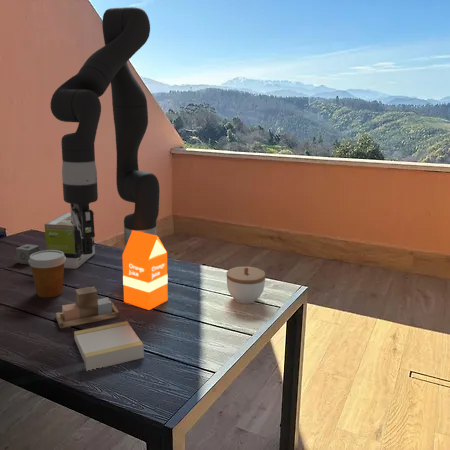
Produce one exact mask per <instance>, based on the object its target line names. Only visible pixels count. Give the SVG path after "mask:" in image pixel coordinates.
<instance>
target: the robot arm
mask: <svg viewBox="0 0 450 450" xmlns="http://www.w3.org/2000/svg"><path fill="white" fill-rule="evenodd" d="M101 24H102V34H103V41H104V46H102V47H100V48H99V49H98V50H96V51H95V52H93V53H92V54H91V55H90V56H89V57H88V58H87V59H86V61H84V63H83V65H82V66H81V68H80V69H79V70H78V72H77V73H76V74H75V75H73V76H71V77H70V78H69V79H67V80H65V82H64V83H62V84H61V85H60V86H59V87H57V89H56V90H55V91H54V93H53V94H52V96H51V99H50V111H51V113H52V115H53V117H54V118H56V119H57V120H58V121H61V122H65V123H78V125H77V129H76V130H75V132H72V133H71V132H70V133H66V134H64V135H63V136H62V138H61V140H60V141H61V155H62V156H61V159H62V160H61V161H62V165H61V179H62V195H63V201H64V202H65V203H67V204H70V213H71V223H72V224H73V225H72V226H73V229H74V237H75V243H76V244H82V253H83V254H84V255H87V254H92V252H93V250H92V238H93V237H94V238H95V236H96V233H95V221H94V220H95V219H94V218H95V217H94V215H95V213H94V211H93V210H92V209H90V206H89V205H90V204H92V203H95V202H96V201H98V197H99V196H98V195H99V192H98V191H99V190H98V175H97V174H98V170H97V163H96V155H95V154H96V153H95V143H96V136H97V131H98V127H99V122H100V119H101V115H102V104H101V101H100V97H102V96H103V95H104V94H105V93H106V91H107V89H108V87H109V86H110V88H111V103H112V105H111V106H112V115H113V123H114V132H115V134H114V135H115V148H116V149H115V150H116V173H115V175H116V190H117V193H118V196H119V197H120V199H122V200H123V201H126V202H129V203H133V204H134V212H133V213H129V214H127V215H125V216H124V219H123V232H124V233H123V235H124V248H125V247H126V245H127V243H128V240H129V238H130V235H131V233H132V230H133V231H138V232H142V233H147V234H151V235H156V236H157V220H158V217H159V212H160V207H159V206H160V183H159V179H158V177H157V176H156V175H155V174H154V173H152V172H148V171H143V170H139V159H138V158H139V157H138V155H139V149H140V146H141V143H142V141H143V139H144V136H145V134H146V131H147V130H148V125H149V112H148V102H147V101H148V99H147V96H146V94H145V92H144V91H143V88H142V87H141V86H140V84H139V82H138V81H137V78H136V77H135V76H134V75H133V73H132V71H131V69H130V67H129V64H128V61H129V60H131V58H132V57H133V56H134V55H135V54H137V52H138V51H139V50H140V49H142V47H143V46H144V45H145V44H146V43H147V41H148V39H149V38H150V34H151V23H150V19H149V15H148V14H147V12H146V11H145V10H144V9H143V8H141V7H136V6H126V7H110V8H107V9H106V10H105V11H104V13H103V15H102V23H101ZM86 229H88V230H89V233H85V230H86Z"/></svg>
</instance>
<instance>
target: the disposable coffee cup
mask: <svg viewBox="0 0 450 450" xmlns="http://www.w3.org/2000/svg"><path fill="white" fill-rule="evenodd" d="M65 260H66V257H65V256H64V253H63V252H61V251H58V250H47V249H46V250H40V251H39V252H35V253H33V254H31V255H30V259H29V260H28V263H29V264H30V265H29V264H28V265H29V266H30V269H31V273H32V277H33V283H34V286H35V290H36V295H37V296H38V297H40V298H45V299H47V298H54V297H58V296H60V295H61V294H62V293H63V292H64V290H63V288H64V274H65V268H64V262H65Z"/></svg>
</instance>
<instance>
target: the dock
mask: <svg viewBox="0 0 450 450" xmlns="http://www.w3.org/2000/svg"><path fill="white" fill-rule="evenodd" d="M73 334H74V335H73V337H74V342H75V343H76V346H77V348H78V350H79V353H80V355H81V358H82V360H83V362H82V364H83V366H84V368H86V369H85V371H86V372H89V371H88V370H90V371H93V370H92V369H94V370H97V369H96V368H99V369H101V368H102V367H103V368H107V367H111V366H115V365H118V364H123V363H128V362H131V361H135V360H140V359H143V358H145V352H144V351H145V350H144V347H145V346H144V343H143V342H142V340H141V339H140V338H139V337H138V335H137V334H136V332H135V331H134V329H133V328H132V326H131V325H130V323H129V322H128V320H126V321H120V322H114V323H110V324H106V325H100V326H96V327H91V328H86V329H80V330H77V331H76V330H75V331H73Z"/></svg>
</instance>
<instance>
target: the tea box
mask: <svg viewBox="0 0 450 450" xmlns="http://www.w3.org/2000/svg"><path fill="white" fill-rule="evenodd" d="M72 225H73V224H72V223H71V212H65V213H63V214H61V215H59V216H57V217H55V218H54V219H51V220H50V221H47V222H46V223H44V234H45V244H46V250H58V251H61V252H63V253H64V256H65V257H66V260H65V262H64V269H79V267H80V266H82V265H83V264H85V262H87V261H88V260H89V259H91V258H92V257H93V256H94V255H95V254H96V246H95V237H93V238H92V250H93V252H92V254H87V255H84V254H83V253H82V244H76V243H75V237H74V229H73V226H72ZM85 233H89V230H88V229H86V230H85Z"/></svg>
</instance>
